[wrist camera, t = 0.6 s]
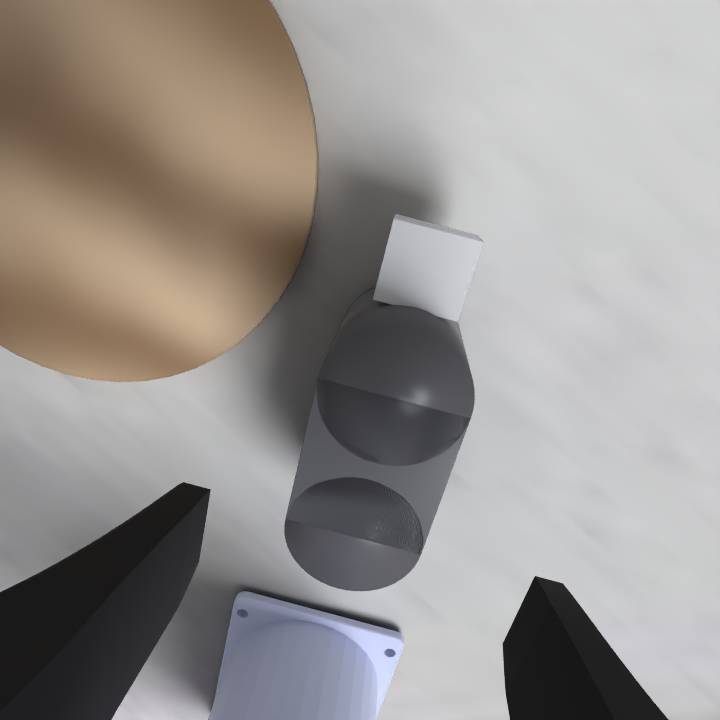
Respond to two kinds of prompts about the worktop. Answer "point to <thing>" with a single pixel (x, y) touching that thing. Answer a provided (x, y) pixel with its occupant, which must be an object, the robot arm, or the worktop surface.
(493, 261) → the worktop surface
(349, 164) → the worktop surface
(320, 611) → the robot arm
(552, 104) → the worktop surface
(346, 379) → the dark grey rounded block
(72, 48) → the round copper disc
